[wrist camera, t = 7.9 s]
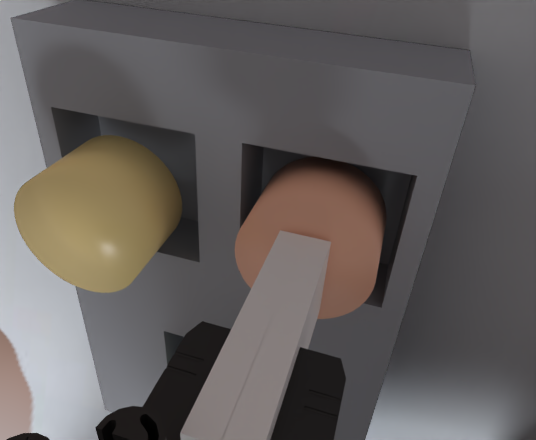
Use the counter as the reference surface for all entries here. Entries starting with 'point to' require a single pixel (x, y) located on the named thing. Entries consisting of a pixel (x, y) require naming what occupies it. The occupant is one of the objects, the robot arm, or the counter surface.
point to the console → (244, 163)
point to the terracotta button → (320, 227)
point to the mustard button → (99, 213)
